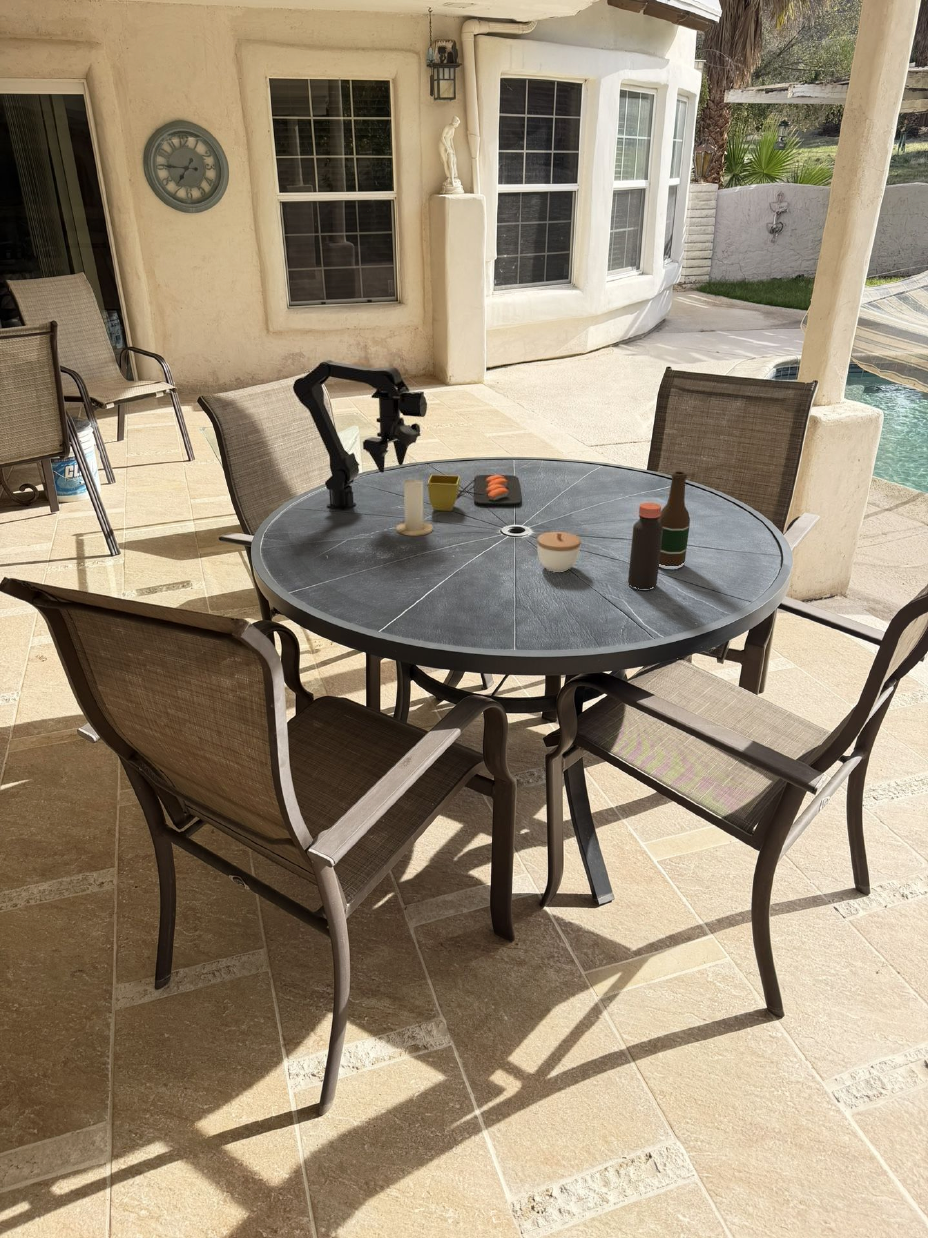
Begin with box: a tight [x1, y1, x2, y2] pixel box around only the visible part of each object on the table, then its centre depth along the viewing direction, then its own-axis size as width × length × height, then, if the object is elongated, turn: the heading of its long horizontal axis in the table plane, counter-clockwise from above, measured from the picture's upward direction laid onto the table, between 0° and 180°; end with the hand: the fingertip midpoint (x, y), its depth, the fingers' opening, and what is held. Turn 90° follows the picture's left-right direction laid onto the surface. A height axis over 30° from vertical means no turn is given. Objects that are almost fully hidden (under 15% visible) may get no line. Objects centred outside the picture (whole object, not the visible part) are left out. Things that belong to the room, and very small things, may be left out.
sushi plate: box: [426, 474, 522, 505], centre depth 272 cm, size 29×30×4 cm
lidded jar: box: [536, 531, 582, 573], centre depth 215 cm, size 11×11×9 cm
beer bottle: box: [658, 471, 691, 566], centre depth 214 cm, size 8×8×24 cm
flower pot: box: [427, 474, 461, 512], centre depth 256 cm, size 9×9×9 cm
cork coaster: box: [396, 522, 434, 537], centre depth 241 cm, size 10×10×1 cm
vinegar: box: [627, 502, 663, 589], centre depth 203 cm, size 7×7×20 cm
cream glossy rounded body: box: [403, 478, 425, 531], centre depth 238 cm, size 5×5×13 cm
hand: (391, 468), depth 249 cm, fingers open, 9 cm apart
